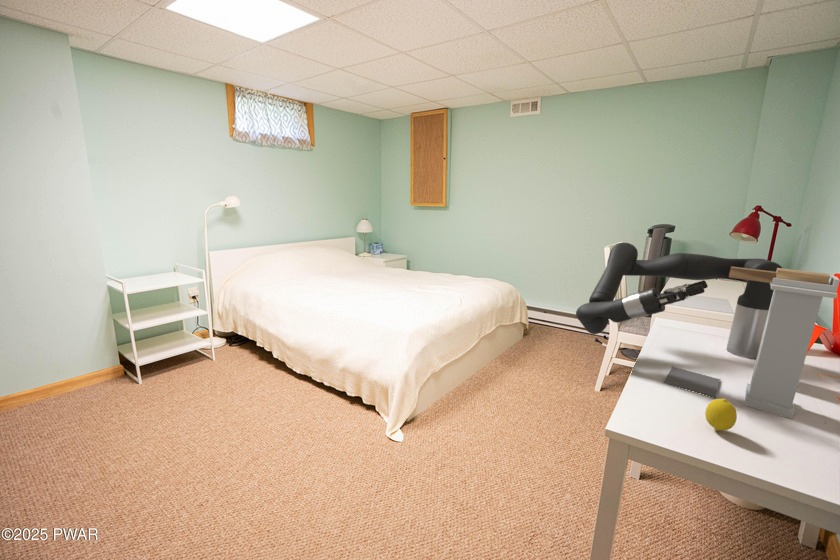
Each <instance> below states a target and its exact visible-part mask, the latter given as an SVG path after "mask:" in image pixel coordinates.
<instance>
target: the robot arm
mask: <svg viewBox="0 0 840 560" xmlns="http://www.w3.org/2000/svg"><path fill="white" fill-rule="evenodd" d="M638 257H639V251H638V249H637V247H636V246H635V245H634V244H631V243H629V242H618V243H617V244H614V245H613V246H612V248H611V249H610V251H609V255H608V259H607V262H606V267H605V269H604V271H603V273H602V275H601V277H600V278H599V280H598V282H597V283H596V286H595V287H594V289H593V291H592V292H591V294H590V297H589V300H588V302H587V303H584V304H581V305H580V306H579V307H578V308H577V309H576V311H575V315H576V318H577V320H578V321H579V322H580V323H581V325H582V326H583V327H584V329H585V330H586V332H588V333H589V334H591V335H597V334H601V333H602V332H604V331H605V330H606V328H607V326H608V324H609V320H610V321H611V322H613V323H616V324H617V323H621V322H626V321H630V320H632V319H633V320H634V319H639V318H644V317H647V316H651V315H655V314H659V313H663V312H665V310H666V305H672V304H674V303H677V302H683V301H685V300H686V299H688V298H689V299H690V297H693V296H696V295H700V294H704V293H705V289H707V288H708V286H709V285H708V284H707V282H706V280H708V281H709V280H719V279H720V280H722V279H723V280H730V281H737V282H742V283H746V285H745V288H744V291H743V293H742V294H741V295H739V296H738V298H737V300H736V301H737V302H736V304H735V305H736V306H735V310H734V314H733V315H734V316H733V319H732V323H731V327H730V331H729V336H728V340H727V343H726V348H725V349H726V351H727V352H729V353H731V354H733V355H735V356H739V357H742V358H747V359H757V355H758V351H759V347H760V343H761V339H762V335H763V331H764V327H765V323H766V319H767V315H768V311H769V307H770V303H771V299H772V295H773V291H774V290H772V289H771V286H770V283H767V282H760V281H752V280H745V279H737V278H730V277H729V273H730V269H731V267H739V268H748V269H756V270H765V271H773V272H776V271H777V268H781V269H784V268H783V267H782V266H781V265H780V264H779V263H777V262H775V261H772V260H768V259H765V258H764V259H763V258H725V257H719V256H715V255H714V256H713V255H706V254H698V253H688V252H686V253H685V252H677V253H671V254H667V255H665V256H661V257H656V258H653V259H638ZM624 276H627V277H628V276H630V277H632V276H638V277H639V276H640V277H643V276H644V277H658V278H659V277H661V278H671V279H679V280H680V279H681V280H690V281H696V282H694V283H685V284H682V285H677V286H674V287H669V288H667V289H664V290H663V292H662V293H660V292H659V290H658V289H657V288H656V287H651V288H647V289H644V290H641V291H638V292H634V293H632V294H631V293H630V294H629V295H626V296H625V297H621V298H618V299H615V298H616V296H617V293H618V291H619V288H620V285H621V282H622V280H623V277H624Z"/></svg>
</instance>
